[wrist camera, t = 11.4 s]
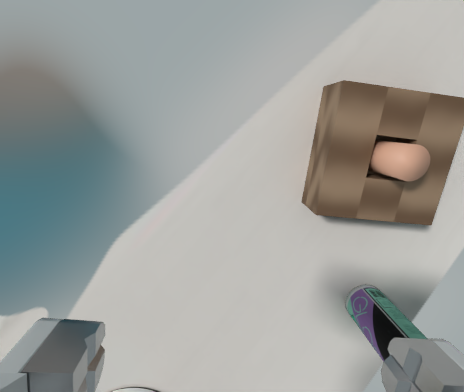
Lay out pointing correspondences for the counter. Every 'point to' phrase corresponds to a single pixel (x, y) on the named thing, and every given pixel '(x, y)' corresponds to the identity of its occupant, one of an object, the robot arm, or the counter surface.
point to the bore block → (361, 147)
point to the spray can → (379, 318)
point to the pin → (399, 160)
